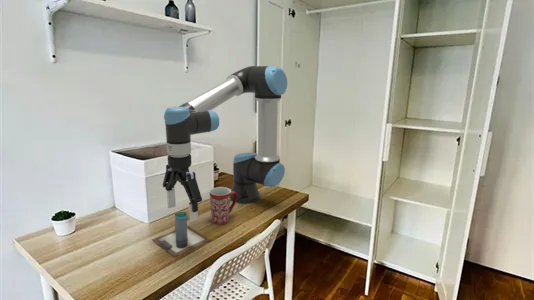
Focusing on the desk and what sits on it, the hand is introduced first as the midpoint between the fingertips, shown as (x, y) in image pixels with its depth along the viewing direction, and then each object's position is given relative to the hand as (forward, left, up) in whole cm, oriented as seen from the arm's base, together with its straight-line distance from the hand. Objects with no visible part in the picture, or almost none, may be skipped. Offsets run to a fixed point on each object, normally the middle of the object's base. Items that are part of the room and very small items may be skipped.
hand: (182, 213), depth 102 cm
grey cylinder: (+1, 0, -12) cm, 12 cm away
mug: (-24, -5, -13) cm, 27 cm away
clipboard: (-2, -3, -13) cm, 13 cm away
